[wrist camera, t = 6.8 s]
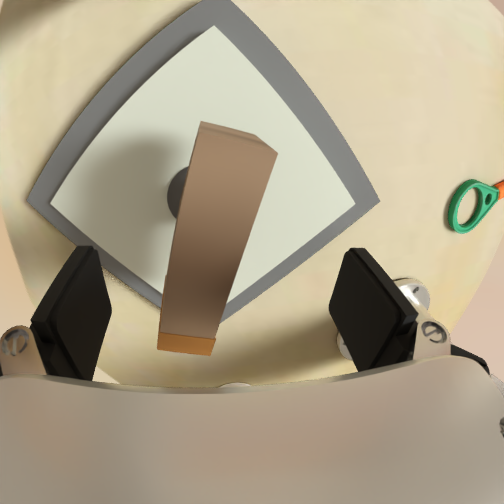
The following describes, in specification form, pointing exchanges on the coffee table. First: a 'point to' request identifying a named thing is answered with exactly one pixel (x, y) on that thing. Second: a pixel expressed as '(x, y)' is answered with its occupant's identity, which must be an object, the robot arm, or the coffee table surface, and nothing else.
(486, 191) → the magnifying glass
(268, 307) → the coffee table surface
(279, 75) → the cover
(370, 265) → the robot arm
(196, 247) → the t key
